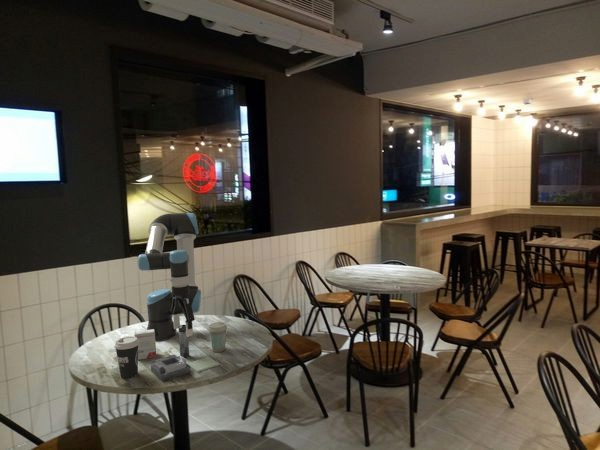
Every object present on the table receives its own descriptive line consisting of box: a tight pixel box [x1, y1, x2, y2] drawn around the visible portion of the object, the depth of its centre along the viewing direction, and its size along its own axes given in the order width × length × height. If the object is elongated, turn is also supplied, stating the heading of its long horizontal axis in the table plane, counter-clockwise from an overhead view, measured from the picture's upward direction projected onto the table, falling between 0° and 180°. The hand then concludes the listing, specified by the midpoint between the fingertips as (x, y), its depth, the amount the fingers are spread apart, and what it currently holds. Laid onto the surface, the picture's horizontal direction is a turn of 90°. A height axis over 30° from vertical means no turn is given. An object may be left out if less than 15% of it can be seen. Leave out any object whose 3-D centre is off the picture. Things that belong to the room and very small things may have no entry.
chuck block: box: [150, 354, 192, 382], centre depth 177 cm, size 12×12×4 cm
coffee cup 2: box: [207, 321, 228, 353], centre depth 198 cm, size 8×8×12 cm
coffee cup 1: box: [113, 335, 139, 380], centre depth 174 cm, size 10×10×15 cm
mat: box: [186, 356, 220, 373], centre depth 183 cm, size 10×10×1 cm
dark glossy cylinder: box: [178, 324, 190, 359], centre depth 191 cm, size 4×4×14 cm
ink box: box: [133, 329, 157, 361], centre depth 193 cm, size 9×5×12 cm, turn 108°
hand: (183, 332), depth 191 cm, fingers open, 13 cm apart
